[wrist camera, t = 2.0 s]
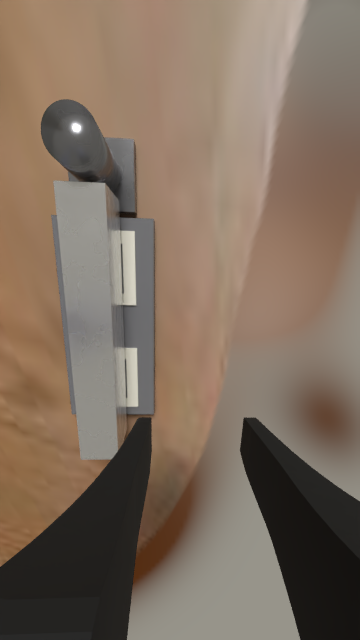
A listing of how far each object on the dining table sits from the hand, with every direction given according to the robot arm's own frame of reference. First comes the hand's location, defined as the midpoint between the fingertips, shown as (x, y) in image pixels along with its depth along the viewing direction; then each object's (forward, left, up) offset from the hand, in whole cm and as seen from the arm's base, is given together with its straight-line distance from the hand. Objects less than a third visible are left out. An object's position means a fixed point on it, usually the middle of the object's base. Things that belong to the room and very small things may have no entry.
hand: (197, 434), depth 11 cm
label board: (+3, +7, -10) cm, 13 cm away
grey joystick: (+15, +7, -10) cm, 20 cm away
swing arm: (+3, +7, -9) cm, 11 cm away
